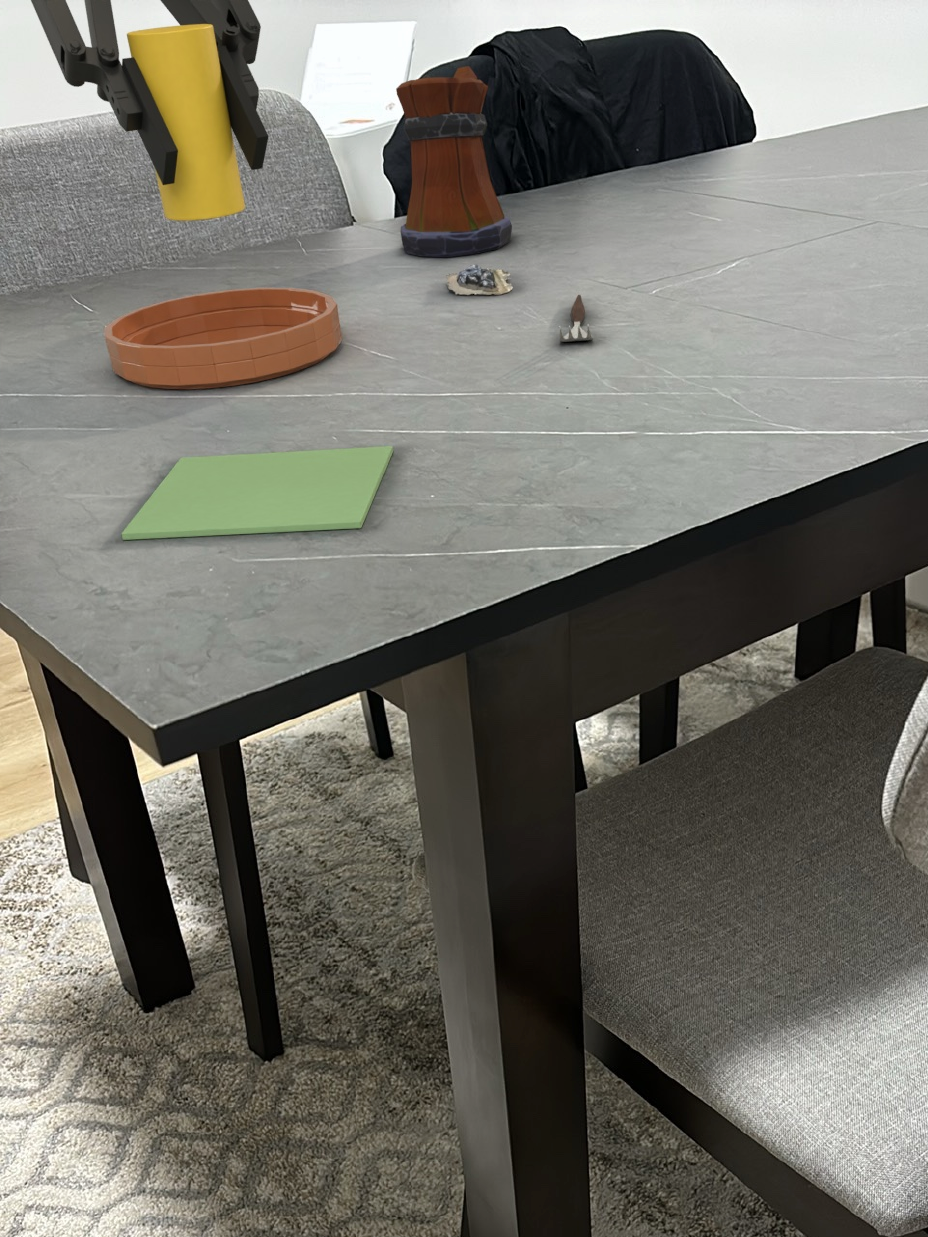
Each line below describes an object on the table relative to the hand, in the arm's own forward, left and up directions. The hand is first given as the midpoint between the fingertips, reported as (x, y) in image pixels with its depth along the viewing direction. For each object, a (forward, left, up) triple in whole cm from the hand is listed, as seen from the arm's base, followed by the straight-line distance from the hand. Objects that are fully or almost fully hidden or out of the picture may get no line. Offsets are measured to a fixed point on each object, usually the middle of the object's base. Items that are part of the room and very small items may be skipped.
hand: (215, 159), depth 83 cm
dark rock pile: (+12, +38, -16) cm, 43 cm away
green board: (+3, -13, -16) cm, 21 cm away
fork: (+21, +22, -16) cm, 34 cm away
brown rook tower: (+8, +60, -16) cm, 62 cm away
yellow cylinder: (-2, +3, -3) cm, 5 cm away
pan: (-7, +19, -16) cm, 26 cm away
